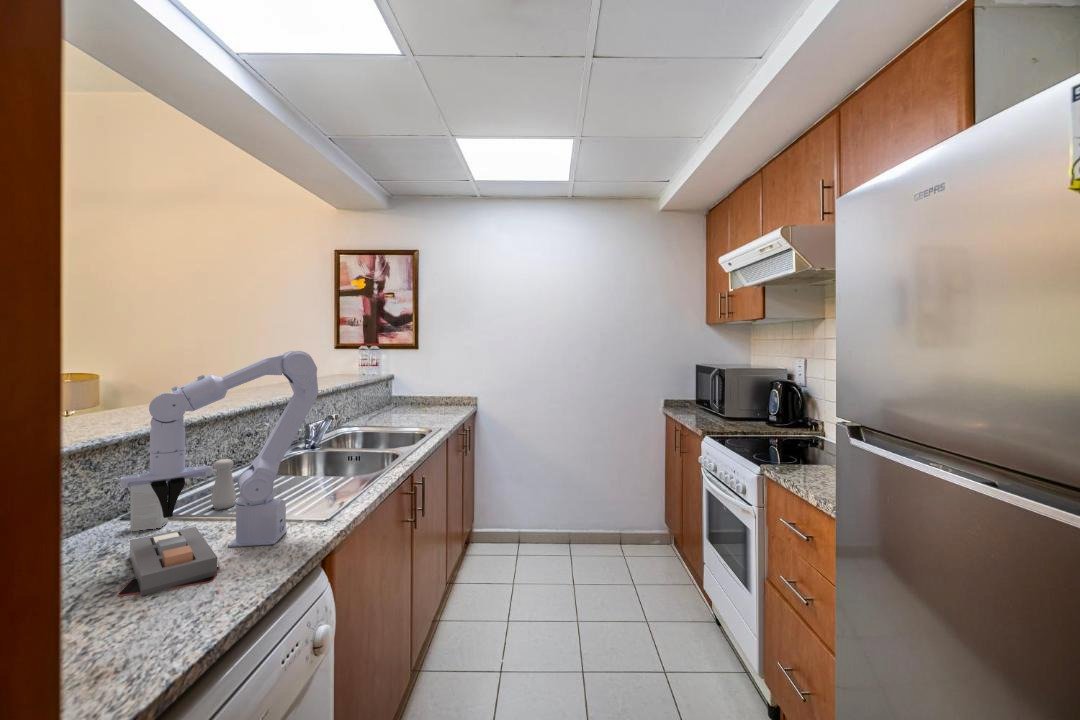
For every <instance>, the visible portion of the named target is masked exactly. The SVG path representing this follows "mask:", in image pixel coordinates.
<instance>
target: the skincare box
mask: <svg viewBox="0 0 1080 720" xmlns="http://www.w3.org/2000/svg"><path fill="white" fill-rule="evenodd" d="M129 489H130V490H129V491H130V492H129V493H130V497H129V498H130V504H129V505H130V507H129V509H130V512H129V513H130V514H129V515H130V532H132V531H133V532H140V531H139V530H143V531H147V530H146V529H153V530H157V529H156V528H161V527H162V526H163V527H165V526H166V525H167V524H168V523H169V517H168V518H164V517H163V512H162V508H161V504H160V502H159V499H158V497H157V495H156V493H155V492H154V490H153V489H152V487H151V485H150V484H146V485H139V486H132V487H129ZM165 524H166V525H165ZM164 525H165V526H164ZM163 527H162V528H163ZM162 528H161V529H162Z"/></svg>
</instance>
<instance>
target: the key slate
mask: <svg viewBox="0 0 1080 720" xmlns="http://www.w3.org/2000/svg"><path fill="white" fill-rule="evenodd" d="M183 546H186V540H185V538H184V536H183V535H182V536H177V537H172V538H168V539H163V540H158V555H162V551H166V550H170V549H175V548H179V547H183Z"/></svg>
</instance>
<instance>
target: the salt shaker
mask: <svg viewBox="0 0 1080 720" xmlns="http://www.w3.org/2000/svg"><path fill="white" fill-rule="evenodd" d="M233 467H234V460H232V459H231V458H223V459H218V460H216V461H215V462H214V470H217V472H216V476H215V480H214V485H213V489H212V493H211V496H210V497H211V498H210V502H211V504H212V506H213V508H214V510H227V509H230V508H231V507H234V505H235V503H236V500H237V493H236V487H235V483H234V477H233V474H232V473H233V472H232V468H233Z"/></svg>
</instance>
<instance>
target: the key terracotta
mask: <svg viewBox="0 0 1080 720" xmlns="http://www.w3.org/2000/svg"><path fill="white" fill-rule="evenodd" d="M192 560H193V551H192V549H191V548H190V546H189V545H188V546H183V547H179V548H175V549H170V550H166V551H162V565H163V567H168V566H172V565H176V564H180V563H184V562H188V561H192Z"/></svg>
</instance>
